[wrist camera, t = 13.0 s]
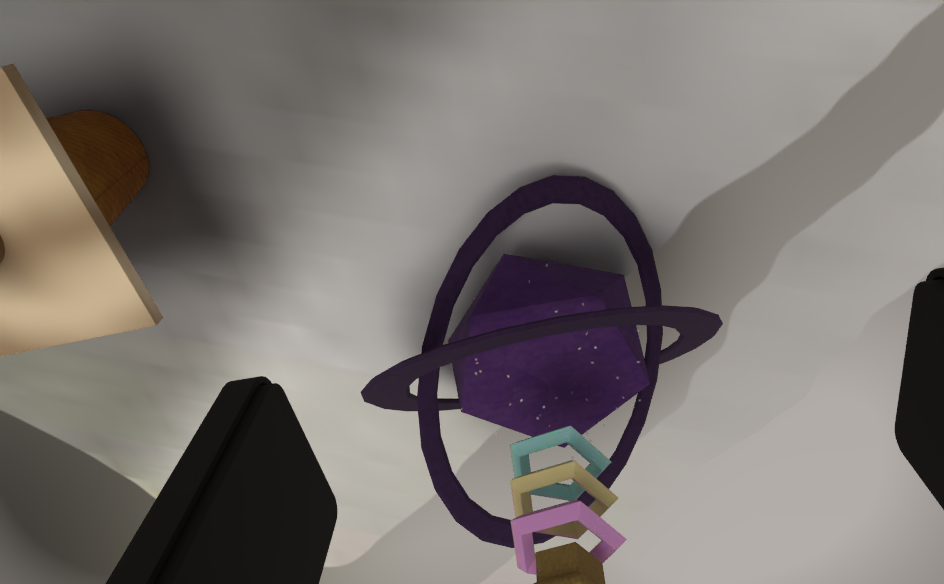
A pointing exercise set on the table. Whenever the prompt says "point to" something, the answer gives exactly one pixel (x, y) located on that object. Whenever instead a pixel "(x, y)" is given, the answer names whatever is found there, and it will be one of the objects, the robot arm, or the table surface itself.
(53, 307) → the oak lid
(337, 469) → the table surface
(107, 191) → the disposable coffee cup
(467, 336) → the decorative bottle
